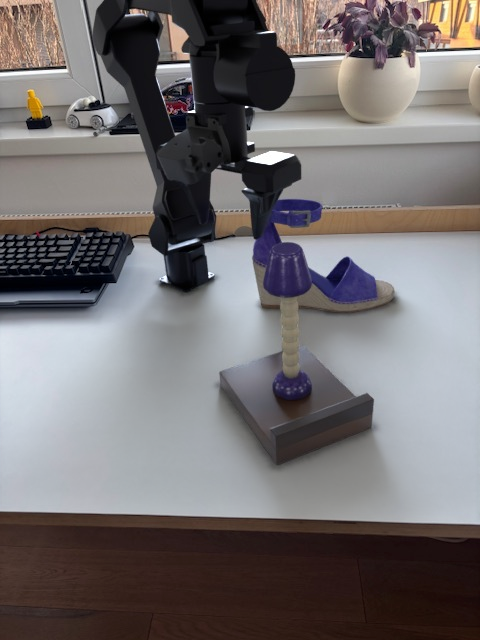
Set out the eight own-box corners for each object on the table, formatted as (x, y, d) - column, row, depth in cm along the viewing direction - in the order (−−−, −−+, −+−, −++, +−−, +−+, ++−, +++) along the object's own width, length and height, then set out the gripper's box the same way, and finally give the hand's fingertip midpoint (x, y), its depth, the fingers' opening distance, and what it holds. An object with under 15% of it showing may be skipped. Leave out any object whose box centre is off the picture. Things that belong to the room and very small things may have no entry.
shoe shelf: (220, 385, 63) (217, 358, 61) (302, 357, 67) (302, 331, 65) (276, 465, 52) (275, 436, 50) (371, 427, 56) (374, 399, 54)
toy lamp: (312, 404, 56) (312, 257, 47) (266, 403, 57) (259, 258, 48) (311, 375, 60) (312, 235, 51) (269, 375, 61) (263, 236, 52)
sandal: (398, 314, 74) (410, 208, 66) (253, 314, 76) (247, 212, 68) (391, 286, 80) (400, 187, 73) (257, 286, 83) (252, 191, 75)
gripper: (109, 106, 61) (133, 236, 69) (233, 121, 50) (243, 273, 58) (181, 90, 68) (195, 209, 76) (304, 100, 57) (304, 238, 65)
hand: (229, 230), depth 69 cm, fingers open, 9 cm apart
